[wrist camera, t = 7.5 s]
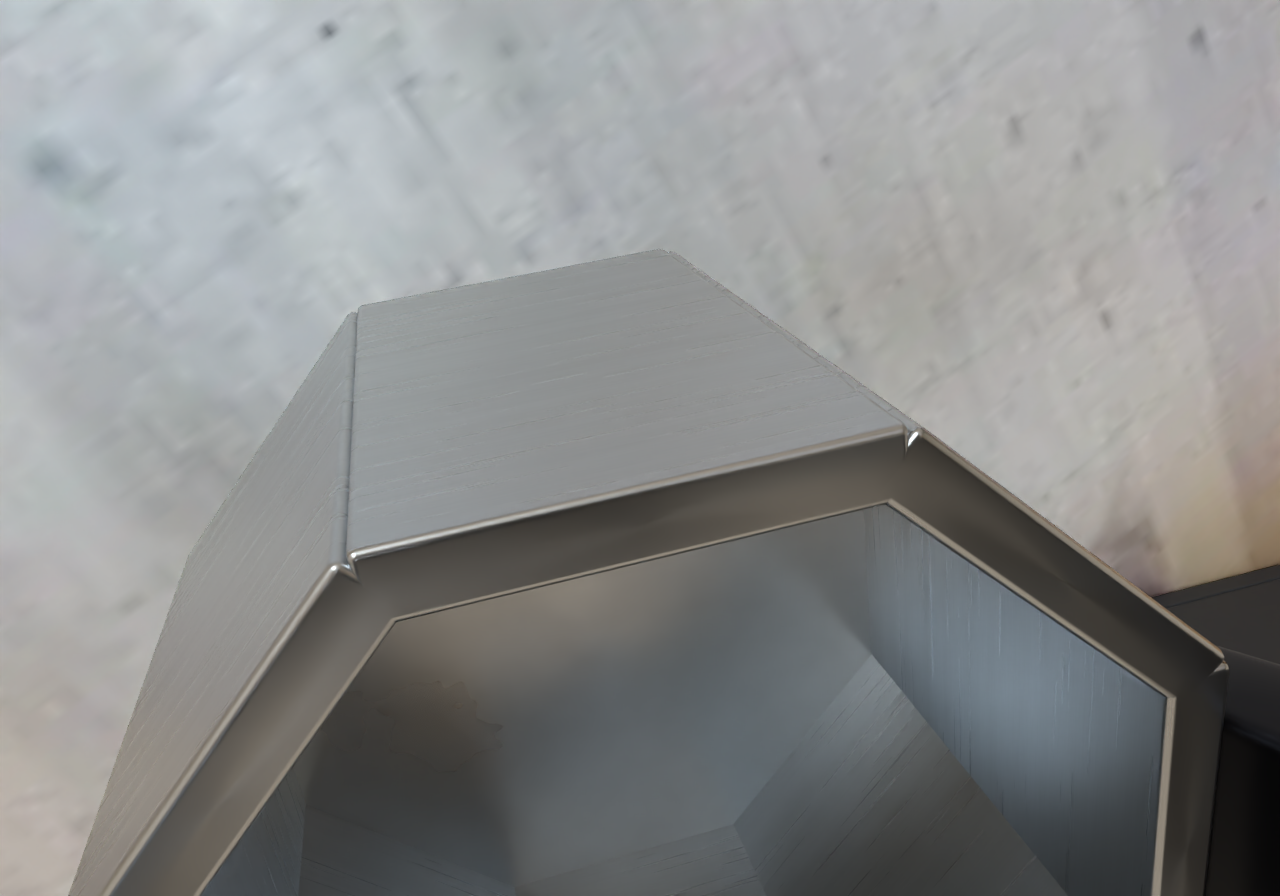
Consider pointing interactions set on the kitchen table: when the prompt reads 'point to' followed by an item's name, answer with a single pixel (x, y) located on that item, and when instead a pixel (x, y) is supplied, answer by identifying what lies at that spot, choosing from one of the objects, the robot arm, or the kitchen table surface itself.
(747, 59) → the kitchen table surface
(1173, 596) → the dark grey tray
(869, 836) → the octagonal metal cup
